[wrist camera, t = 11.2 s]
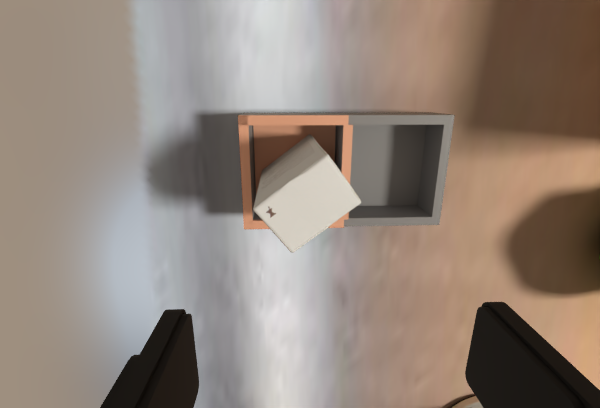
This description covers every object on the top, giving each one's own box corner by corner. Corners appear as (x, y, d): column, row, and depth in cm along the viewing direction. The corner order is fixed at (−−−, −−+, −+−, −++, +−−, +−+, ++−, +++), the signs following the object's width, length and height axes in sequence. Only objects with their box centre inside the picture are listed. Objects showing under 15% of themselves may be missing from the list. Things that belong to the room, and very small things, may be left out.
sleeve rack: (433, 112, 33) (456, 115, 28) (421, 210, 36) (440, 225, 31) (244, 112, 32) (237, 115, 27) (248, 212, 35) (244, 229, 30)
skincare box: (287, 202, 34) (290, 256, 22) (261, 169, 33) (249, 209, 21) (336, 166, 33) (364, 203, 22) (310, 131, 32) (326, 151, 20)
